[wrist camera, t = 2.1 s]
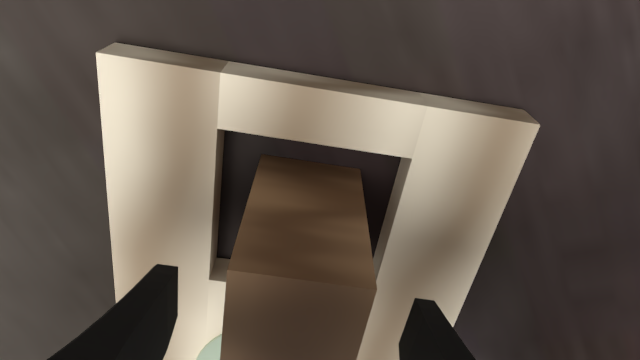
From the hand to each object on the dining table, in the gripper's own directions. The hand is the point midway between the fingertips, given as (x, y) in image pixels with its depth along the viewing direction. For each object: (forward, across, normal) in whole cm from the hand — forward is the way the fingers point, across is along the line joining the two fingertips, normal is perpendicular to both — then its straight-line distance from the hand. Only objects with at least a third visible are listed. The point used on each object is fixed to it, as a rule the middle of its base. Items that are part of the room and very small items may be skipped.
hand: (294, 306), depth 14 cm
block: (+6, 0, 0) cm, 6 cm away
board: (+6, 0, +5) cm, 7 cm away
